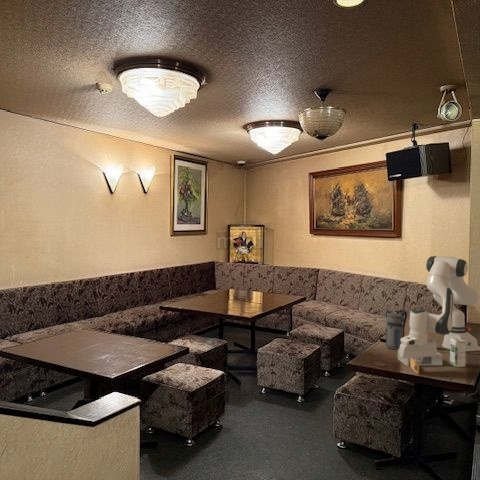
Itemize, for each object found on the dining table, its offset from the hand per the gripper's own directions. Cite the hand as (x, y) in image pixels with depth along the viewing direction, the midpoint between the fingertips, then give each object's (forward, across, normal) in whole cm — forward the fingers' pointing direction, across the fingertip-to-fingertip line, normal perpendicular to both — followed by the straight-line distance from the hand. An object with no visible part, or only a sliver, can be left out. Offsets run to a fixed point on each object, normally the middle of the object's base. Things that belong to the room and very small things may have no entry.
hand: (418, 365), depth 216 cm
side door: (+3, +2, -2) cm, 4 cm away
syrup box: (+4, -27, -5) cm, 28 cm away
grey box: (+3, -10, -13) cm, 17 cm away
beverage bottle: (+4, -11, -41) cm, 43 cm away
